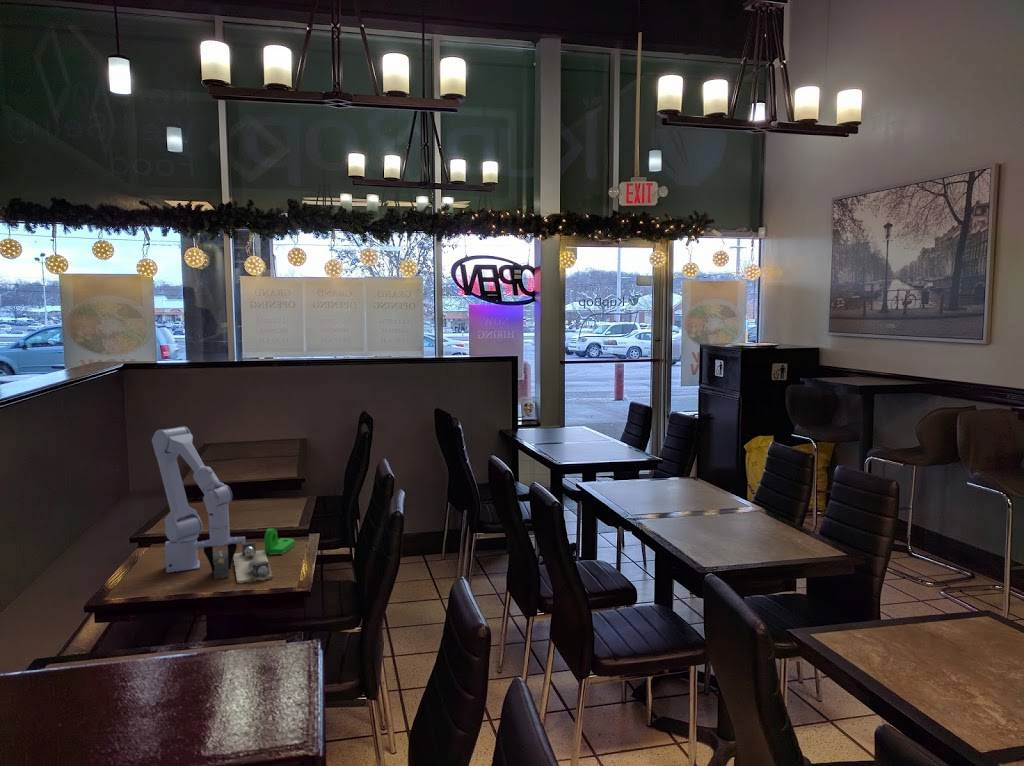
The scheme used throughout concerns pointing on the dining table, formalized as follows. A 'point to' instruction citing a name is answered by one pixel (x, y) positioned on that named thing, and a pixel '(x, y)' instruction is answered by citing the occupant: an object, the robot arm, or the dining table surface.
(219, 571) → the grey slotted block
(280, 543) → the mechanical part
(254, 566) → the angled shaft
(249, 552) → the metal cylinder fitting
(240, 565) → the board
